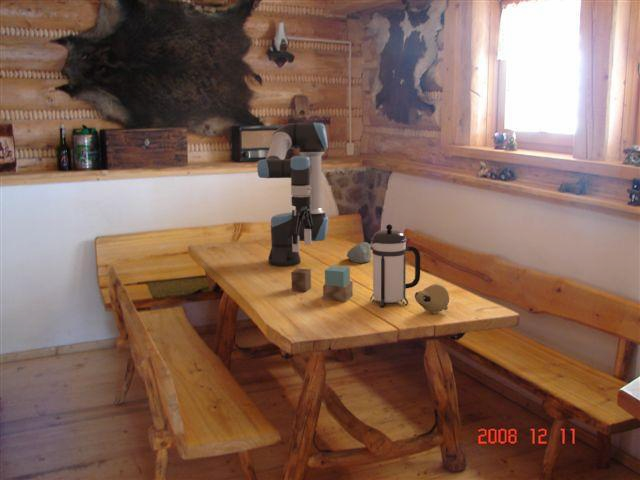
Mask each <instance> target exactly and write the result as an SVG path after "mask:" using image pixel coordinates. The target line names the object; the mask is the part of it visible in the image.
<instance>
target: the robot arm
mask: <svg viewBox="0 0 640 480" xmlns="http://www.w3.org/2000/svg"><path fill="white" fill-rule="evenodd" d="M269 142H270V146H269V150H268V152H267V154H266V158H265V159H259V160H258V162H257V166H256V168H257V171H256V172H257V176H258V177H259V178H260V179H290V182H291V183H290V195H291V197H290V198H291V199H290V200H291V201H290V202H291V206H293V207H295V209H292V211H291V212H284V213H283V212H282V213H278V214H275V215H273V216H272V217H270V218H271V219H270V235H271V236H270V237H271V240H270V241H271V242H270V243H271V249H270V252H269V255H268V258H267V260H268V262H267V264H268V265H270V266H273V267H291V266H292V267H293V266H297V265H299V264H301V261H302V260H301V255H300V251H301V250H300V248H301V247H300V242H303V243H304V246H311V245H312V242H321V241H322V242H323V241H325V240H326V237H327V235H328V226H329V216H328V215H326V211H325V210H324V209H323V189H322V188H323V185H322V184H323V183H322V156H323V155H324V154H325V149H329V148H328V147H329V146H328V137H327V131H326V126H325V125H324V123H322V122H294V123H293V122H292V123H291V122H290V123H288V124H284V125H283V126H280V127H278V129H277V130H275V131H274V132H273V134H272V135H271V137H270V141H269ZM289 150H298V152H299V153H298V154H300V155H294V156H292V157H291V158H290V159H286V156H287V152H288V151H289Z"/></svg>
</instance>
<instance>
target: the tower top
mask: <svg viewBox="0 0 640 480" xmlns="http://www.w3.org/2000/svg"><path fill="white" fill-rule="evenodd" d="M350 281H351V269H350V266H342V265H341V266H339V265H331V266H329V267H327V268H326V269H324V285H326V286H338V287H344V286H345V285H347V284H348V283H349V282H350Z"/></svg>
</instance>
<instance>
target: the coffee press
mask: <svg viewBox="0 0 640 480" xmlns="http://www.w3.org/2000/svg"><path fill="white" fill-rule="evenodd" d="M385 228H386V229H384V230H379V231H377V232H375V233H374V234H373V237H371V242H370V243H369V245H370V249H372V250H371V251H372V252H371V254H372V267H373V268H372V285H373V286H372V288H373V289H372V295H371V297H370V301H372V302H373V301H378V302H380V303H379V307H380V308H382V307H383V308H382V309H384V308H385V306H386V305H387V304H389V303H392V304H393V303H398V302H401V303H402V304H403V305H404V306H407V305H408V304H409V301H408V299H407V297H406V289H412V288H414V287H416V286H417V285H418V284H419V282H420V279H421V254H420V252H419V249H418V248H416V247H414V246H411V245H408V246H406V242H407V240H408V239H407V237H406V235H405V234H404V232H402V231H399V230H397V229H396V230H394V229H393V226H392V224H389V223H388V224H387V225H386V227H385ZM407 252H412V253H413V254H414V256H415V257H414V258H415V260H414V264H415V265H414V279H413V281H411V282H410V283H409V282H408V283H406V269H407V268H406V261H407V260H406V259H407V258H406V254H407ZM405 304H406V305H405Z"/></svg>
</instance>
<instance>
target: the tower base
mask: <svg viewBox="0 0 640 480" xmlns="http://www.w3.org/2000/svg"><path fill="white" fill-rule="evenodd" d="M353 284H354V283H353V281H352V280H350V282H349V283H348V284H347V285H345V286H344V287H338V286H326V285H325V284H324V285H322V297H323V301H324V302H336V303H337V302H340V303H346V302H348V301H349V300H350V299H351V298H352V297H353V295H354V294H353V291H354V290H353Z"/></svg>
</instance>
